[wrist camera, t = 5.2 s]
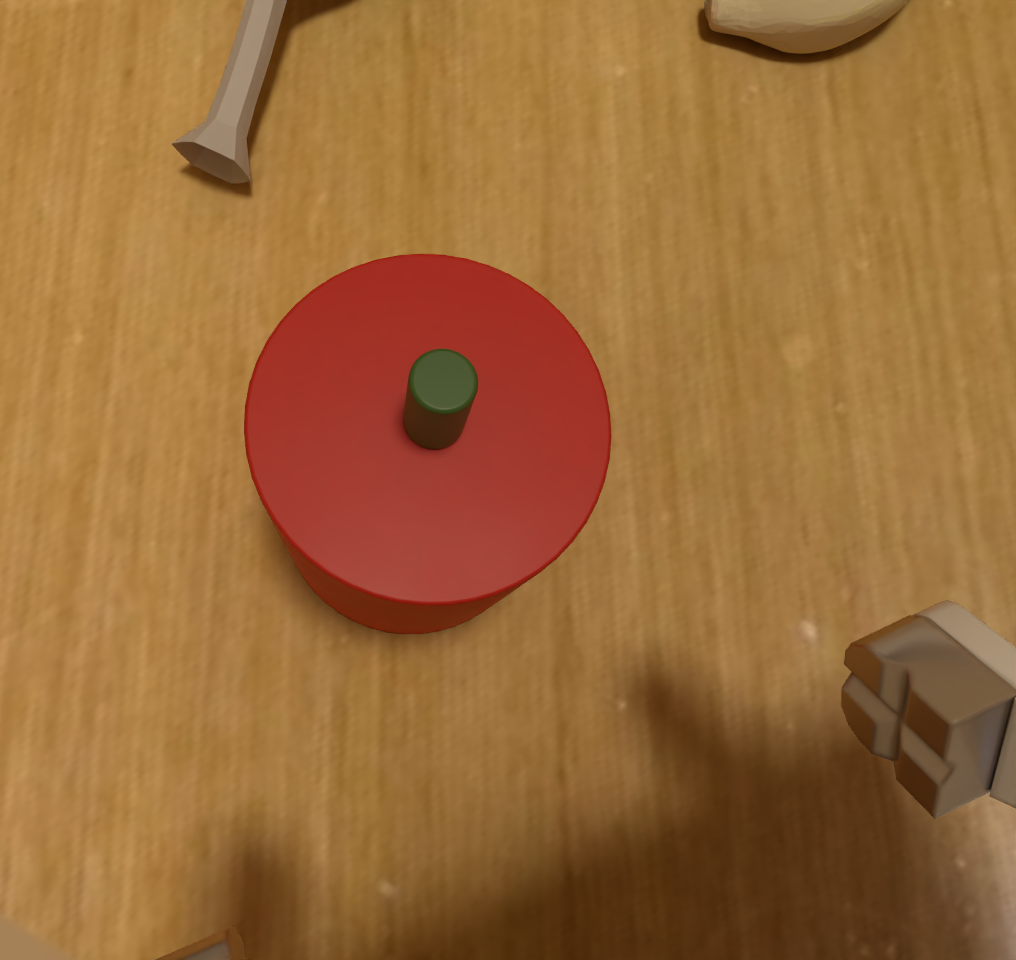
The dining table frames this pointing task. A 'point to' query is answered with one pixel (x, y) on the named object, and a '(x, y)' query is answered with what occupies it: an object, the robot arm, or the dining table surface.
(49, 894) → the dining table surface
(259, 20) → the mushroom
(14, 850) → the dining table surface
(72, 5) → the dining table surface
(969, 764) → the robot arm
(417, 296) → the pepper
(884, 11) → the fruit
